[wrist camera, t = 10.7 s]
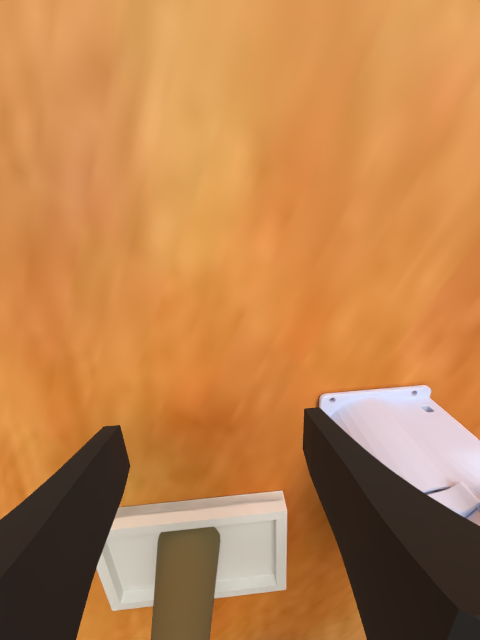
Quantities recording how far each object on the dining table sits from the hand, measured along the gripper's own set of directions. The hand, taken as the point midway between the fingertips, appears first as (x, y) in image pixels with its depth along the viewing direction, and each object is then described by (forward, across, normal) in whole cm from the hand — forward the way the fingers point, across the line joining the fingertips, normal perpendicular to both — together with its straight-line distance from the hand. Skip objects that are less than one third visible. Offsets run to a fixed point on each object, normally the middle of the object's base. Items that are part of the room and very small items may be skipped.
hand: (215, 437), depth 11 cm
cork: (+10, +4, +21) cm, 24 cm away
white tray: (+10, +4, +23) cm, 26 cm away
